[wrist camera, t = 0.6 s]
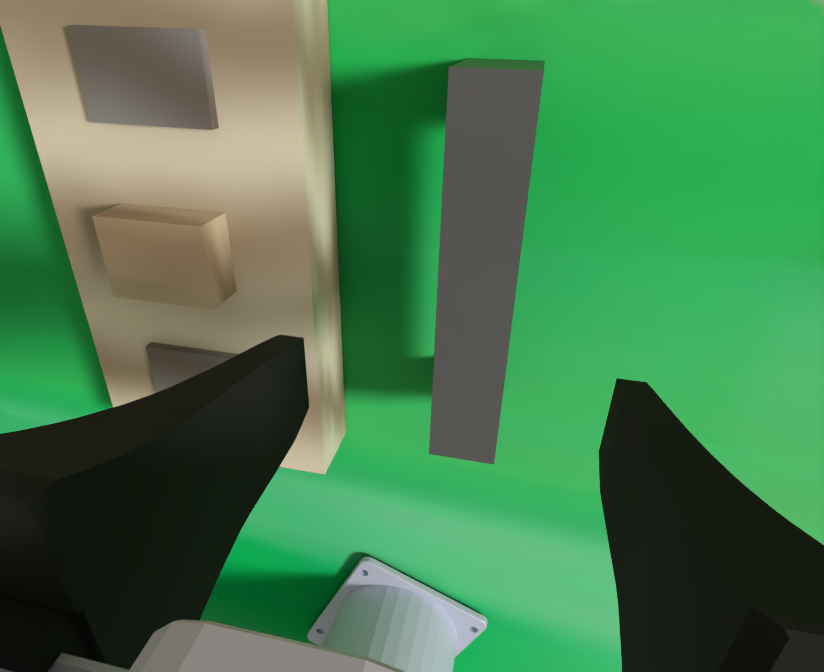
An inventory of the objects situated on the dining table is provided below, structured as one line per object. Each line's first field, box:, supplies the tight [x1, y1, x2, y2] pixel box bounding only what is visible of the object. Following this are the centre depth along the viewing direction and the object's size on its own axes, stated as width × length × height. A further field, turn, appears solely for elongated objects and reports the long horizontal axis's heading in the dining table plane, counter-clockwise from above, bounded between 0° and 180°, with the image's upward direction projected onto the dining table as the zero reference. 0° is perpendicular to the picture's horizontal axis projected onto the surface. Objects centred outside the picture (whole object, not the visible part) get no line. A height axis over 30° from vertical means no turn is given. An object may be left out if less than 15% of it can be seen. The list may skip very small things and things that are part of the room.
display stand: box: [0, 0, 346, 474], centre depth 21 cm, size 20×10×5 cm, turn 179°
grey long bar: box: [429, 58, 544, 464], centre depth 19 cm, size 13×2×4 cm, turn 179°
